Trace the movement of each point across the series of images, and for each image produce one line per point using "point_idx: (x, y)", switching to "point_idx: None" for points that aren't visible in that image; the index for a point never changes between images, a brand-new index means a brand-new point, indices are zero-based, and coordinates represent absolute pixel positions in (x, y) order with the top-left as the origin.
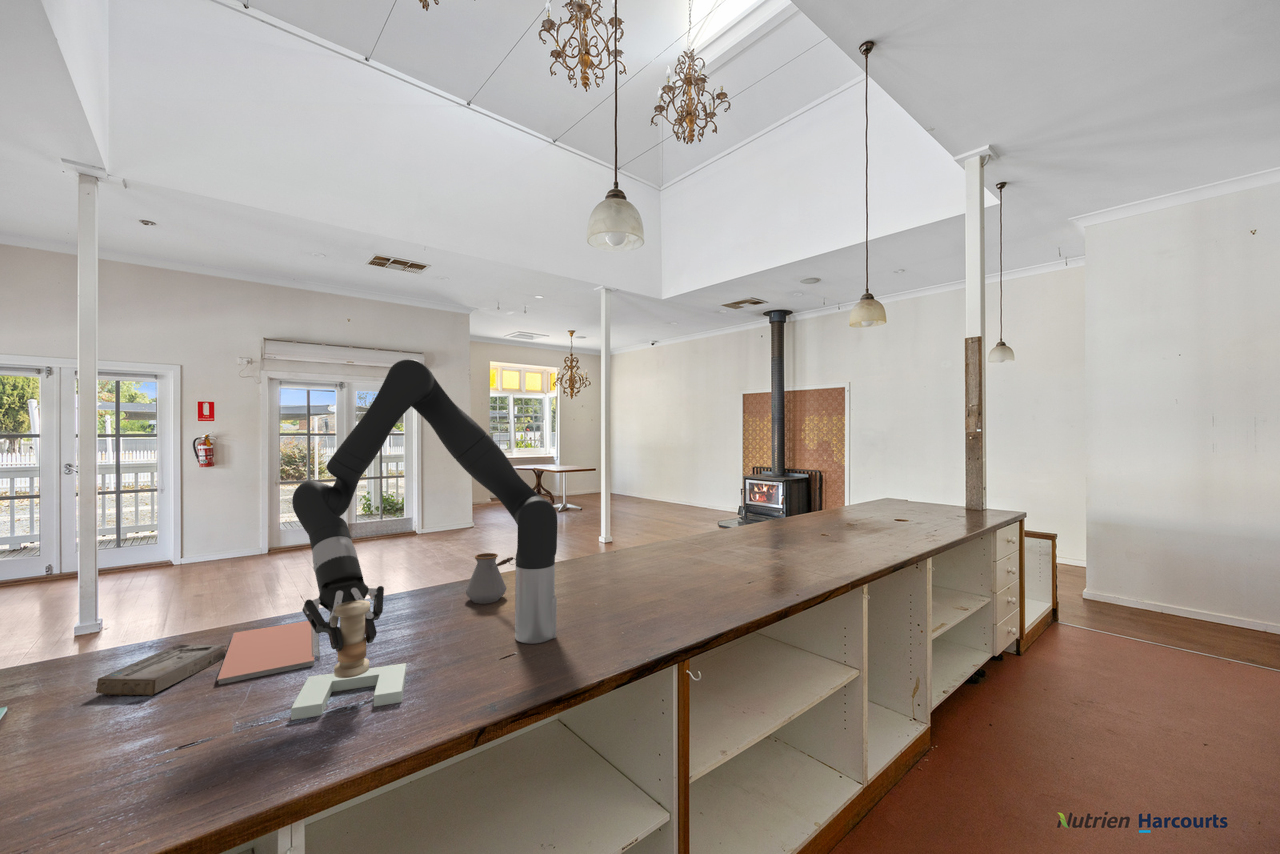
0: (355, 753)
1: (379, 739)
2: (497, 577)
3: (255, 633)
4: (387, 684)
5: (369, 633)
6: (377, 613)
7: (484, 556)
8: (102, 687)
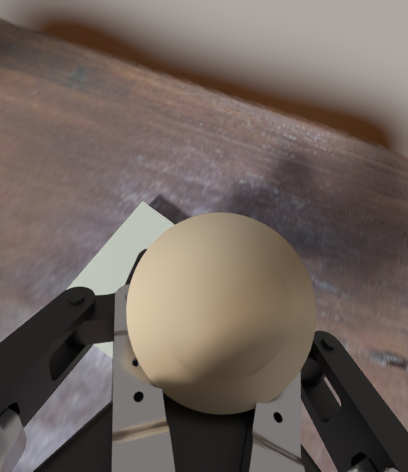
0: (257, 146)
1: (224, 147)
2: None
3: None
4: (141, 247)
5: None
6: (93, 293)
7: None
8: None
